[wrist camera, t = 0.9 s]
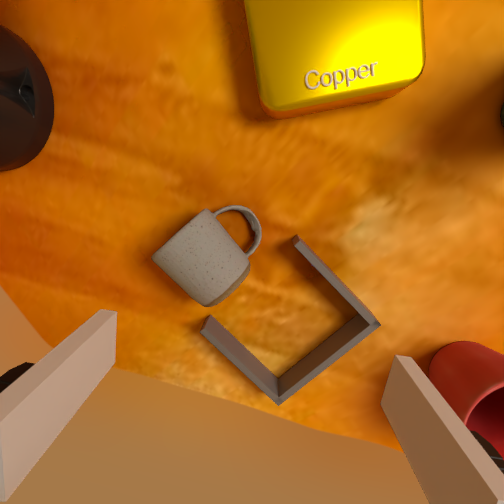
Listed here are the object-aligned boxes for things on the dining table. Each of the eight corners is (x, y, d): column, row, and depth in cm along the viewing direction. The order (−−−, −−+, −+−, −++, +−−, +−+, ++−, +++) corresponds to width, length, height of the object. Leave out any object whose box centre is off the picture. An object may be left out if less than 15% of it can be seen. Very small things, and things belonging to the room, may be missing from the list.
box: (206, 318, 38) (199, 332, 35) (297, 234, 35) (299, 240, 32) (277, 386, 40) (278, 405, 36) (370, 311, 37) (381, 325, 33)
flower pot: (399, 392, 39) (440, 460, 30) (439, 316, 36) (498, 363, 27) (478, 418, 39) (544, 494, 30) (524, 344, 37) (611, 401, 27)
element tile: (263, 123, 33) (261, 114, 29) (237, -39, 30) (230, -79, 25) (407, 95, 32) (431, 80, 27) (396, -80, 29) (420, -130, 24)
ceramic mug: (211, 296, 38) (198, 325, 30) (164, 247, 37) (137, 263, 29) (278, 239, 36) (281, 254, 28) (229, 185, 35) (219, 185, 27)
